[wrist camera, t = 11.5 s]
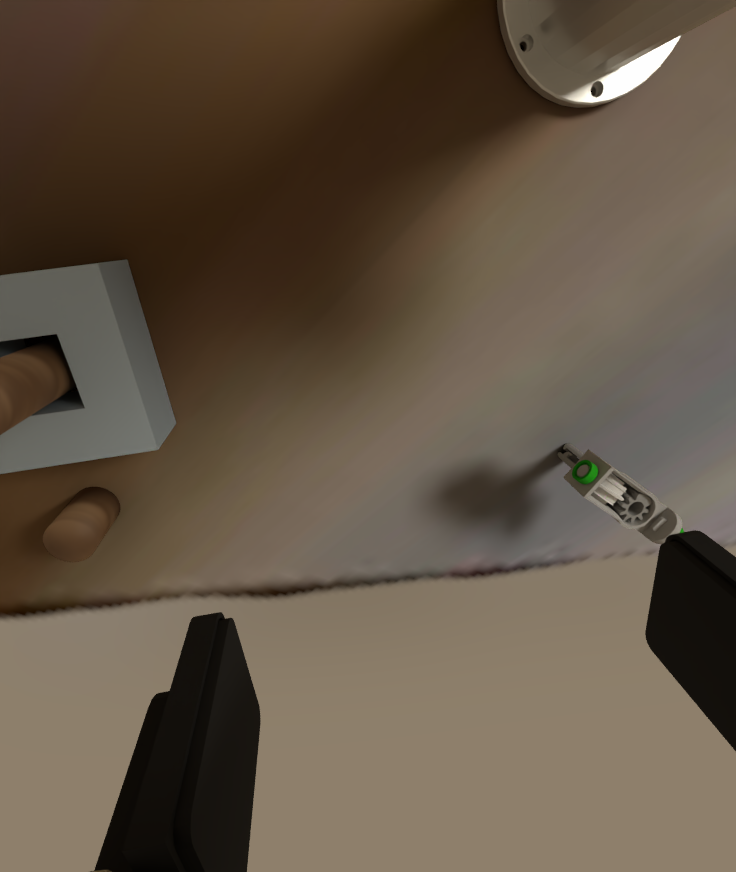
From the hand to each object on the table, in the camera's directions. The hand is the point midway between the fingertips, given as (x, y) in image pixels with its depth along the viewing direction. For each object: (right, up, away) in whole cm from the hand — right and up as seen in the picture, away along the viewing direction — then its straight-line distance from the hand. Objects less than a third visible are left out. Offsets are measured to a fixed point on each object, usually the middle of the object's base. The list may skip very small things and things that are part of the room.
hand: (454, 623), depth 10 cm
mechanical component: (+16, +3, +32) cm, 36 cm away
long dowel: (-23, +10, +24) cm, 35 cm away
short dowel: (-24, -2, +28) cm, 37 cm away
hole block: (-23, +10, +24) cm, 35 cm away
